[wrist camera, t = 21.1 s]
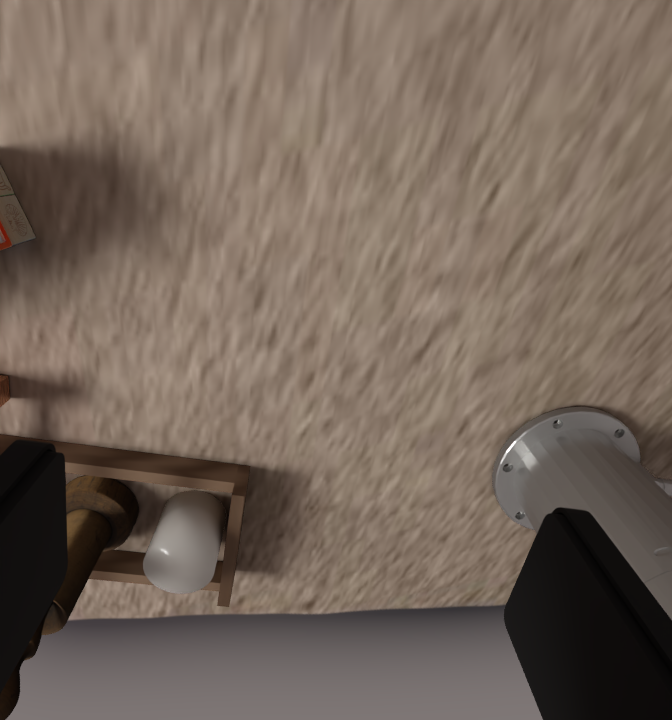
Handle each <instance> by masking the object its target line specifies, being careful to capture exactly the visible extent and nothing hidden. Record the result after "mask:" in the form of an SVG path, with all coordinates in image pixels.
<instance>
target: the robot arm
mask: <svg viewBox="0 0 672 720" xmlns="http://www.w3.org/2000/svg"><path fill="white" fill-rule="evenodd" d="M640 460H641V458H640V449H639V446H638V443H637V441H636V438H635V436H634V435H633V434H632V432H631V431H630V430H629V428H628V427H627V426H625V425H624V424H623V423H622V422H621V421H620V420H619V419H617V418H616V417H614V416H613V415H611V414H609V413H607V412H604V411H602V410H599V409H595V408H589V407H568V408H562V409H557V410H553V411H551V412H548V413H545V414H542V415H540V416H538V417H536V418H534V419H533V420H531V421H529V422H527V423H526V424H525V425H523V426H522V427H521V428H519V429H518V430H517V431H516V432H515V433H514V434H513V435H512V436H511V437H510V438H509V439H508V440H507V441H506V443H505V444H504V446H503V447H502V449H501V450H500V452H499V454H498V456H497V459H496V461H495V463H494V468H493V473H492V486H493V490H494V493H495V497H496V498H497V500H498V502H499V504H500V506H501V508H502V509H503V511H504V512H505V513H506V515H507V516H508V517H510V518H511V519H512V520H513V521H514V522H516V523H518V524H520V525H522V526H524V527H526V528H529V529H532V530H535V531H536V533H537V535H536V537H535V540H534V542H533V544H532V547H531V549H530V551H529V554H528V556H527V558H526V560H525V563H524V565H523V567H522V570H521V572H520V574H519V576H518V579H517V581H516V583H515V586H514V588H513V590H512V592H511V595H510V597H509V599H508V602H507V604H506V606H505V610H504V620H505V626H506V629H507V631H508V634H509V636H510V639H511V641H512V644H513V646H514V648H515V651H516V653H517V656H518V659H519V661H520V663H521V666H522V668H523V671H524V673H525V676H526V678H527V681H528V683H529V686H530V688H531V691H532V693H533V696H534V698H535V701H536V703H537V706H538V708H539V711H540V713H541V716H542V718H543V720H672V498H671V497H670V496H672V480H669V479H662V478H657V479H656V478H655V477H654V476H653V475H651V474H650V473H649V472H648V471H647V470H646V469H645V468H644V467H643V466H642V465H641V464H640ZM67 567H68V547H67V513H66V478H65V457H64V454H63V453H60V452H56V448H55V446H54V445H53V444H52V443H46V442H38V441H30V440H22V439H19V440H16V441H14V442H13V443H12V444H11V445H10V446H9V447H8V448H7V449H6V450H5V451H4V452H3V453H2V454H1V455H0V694H1V692H2V690H3V689H4V687H5V685H6V683H7V681H8V680H9V678H10V676H11V674H12V673H13V671H14V669H15V667H16V665H17V664H18V662H19V660H20V658H21V657H22V655H23V653H24V651H25V649H26V648H27V646H28V644H29V642H30V641H31V639H32V637H33V635H34V633H35V632H36V630H37V628H38V626H39V625H40V623H41V621H42V619H43V618H44V616H45V614H46V612H47V610H48V609H49V607H50V605H51V603H52V602H53V600H54V598H55V596H56V594H57V593H58V591H59V589H60V587H61V585H62V583H63V581H64V579H65V576H66V572H67Z"/></svg>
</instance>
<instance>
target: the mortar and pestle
mask: <svg viewBox="0 0 672 720" xmlns="http://www.w3.org/2000/svg"><path fill="white" fill-rule="evenodd" d="M138 512H139V507H138V503H137V500H136V498H135V496H134V495H133V493H132V492H131V491H130V490H129V489H128V488H127V487H126V486H125V485H123V484H121V483H119V482H117V481H116V480H114V479H112V478H105V477H96V476H88V475H87V476H81V477H78V478H76V479H74V480H72V481H70V482H69V483H68V484H67V485H66V513H67V547H68V567H67V572H66V576H65V579H64V581H63V583H62V585H61V587H60V589H59V591H58V593H57V594H56V596H55V598H54V600H53V602H52V603H51V605H50V607H49V609H48V610H47V612H46V614H45V616H44V618H43V619H42V621H41V623H40V625H39V626H38V628H37V630H36V632H35V633H34V635H33V637H32V639H31V641H30V642H29V644H28V646H27V648H26V649H25V651H24V653H23V655H22V657H21V658H20V660H19V662H18V664H17V665H16V667H15V669H14V671H13V673H12V674H11V676H10V678H9V680H8V681H7V683H6V685H5V687H4V689H3V690H2V692H1V694H0V720H5V719H6V718H7V717H8V716H9V715H10V714H11V713H12V711H13V709H14V708H15V706H16V704H17V702H18V698H19V694H20V674H19V670H20V667H21V664H22V663H23V661H24V660H27V659H30V658H32V657H33V656H34V655H35V653H36V651H37V649H38V646H39V643H40V639H41V635H48V634H52V633H55V632H57V631H59V630H61V629H62V628H63V627H64V625H65V624H66V622H67V620H68V618H69V616H70V614H71V612H72V610H73V608H74V606H75V604H76V602H77V600H78V598H79V596H80V594H81V592H82V590H83V588H84V586H85V584H86V582H87V580H88V579H89V577H90V575H91V573H92V571H93V569H94V567H95V565H96V563H97V561H98V559H99V557H100V555H101V554H102V552H105V551H109V550H113V549H115V548H117V547H119V546H120V545H122V544H123V543H124V542H125V541H126V539H127V538H128V536H129V535H130V533H131V531H132V528H133V526H134V524H135V522H136V520H137V517H138Z"/></svg>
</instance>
